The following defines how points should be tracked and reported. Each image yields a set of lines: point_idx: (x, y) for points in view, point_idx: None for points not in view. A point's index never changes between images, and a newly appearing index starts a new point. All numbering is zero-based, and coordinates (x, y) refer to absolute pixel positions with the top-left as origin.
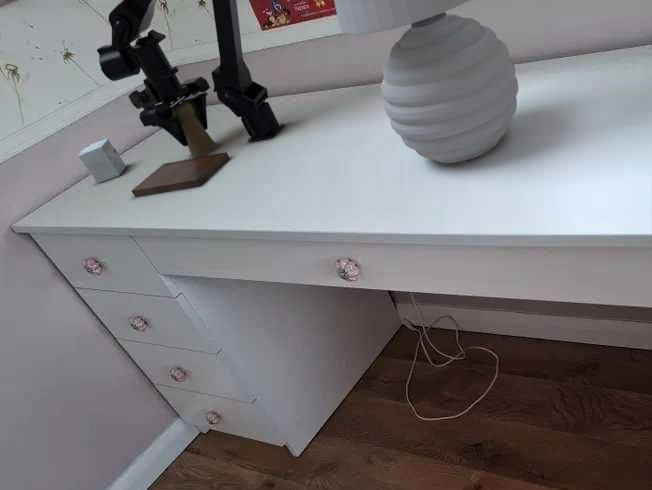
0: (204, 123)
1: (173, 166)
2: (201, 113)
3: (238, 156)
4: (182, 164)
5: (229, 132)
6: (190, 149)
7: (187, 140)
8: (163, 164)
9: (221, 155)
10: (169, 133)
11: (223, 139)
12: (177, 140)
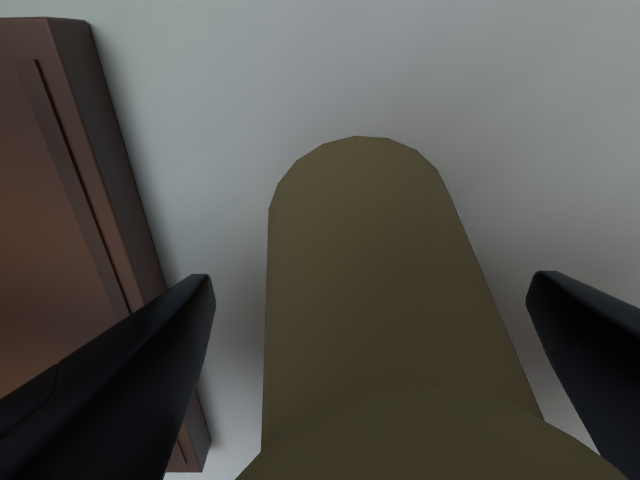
0: (551, 355)
1: (21, 227)
2: (634, 471)
3: (222, 463)
4: (60, 295)
5: (621, 260)
6: (272, 227)
7: (266, 288)
8: (28, 38)
9: (167, 468)
10: (20, 386)
11: (502, 278)
12: (137, 312)
